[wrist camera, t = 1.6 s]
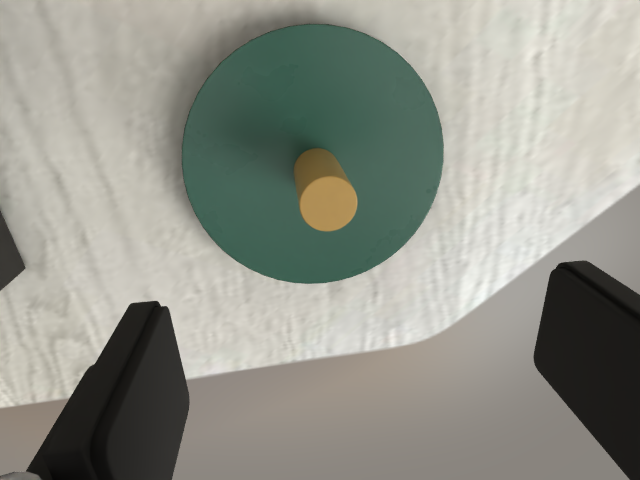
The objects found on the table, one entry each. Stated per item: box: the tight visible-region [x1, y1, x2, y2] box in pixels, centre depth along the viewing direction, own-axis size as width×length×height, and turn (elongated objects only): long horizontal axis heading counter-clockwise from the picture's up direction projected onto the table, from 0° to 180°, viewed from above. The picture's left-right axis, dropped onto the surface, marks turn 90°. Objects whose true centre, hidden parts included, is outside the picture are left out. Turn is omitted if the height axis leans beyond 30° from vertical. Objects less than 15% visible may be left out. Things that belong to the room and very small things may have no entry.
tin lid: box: [182, 24, 443, 284], centre depth 20 cm, size 14×14×6 cm
